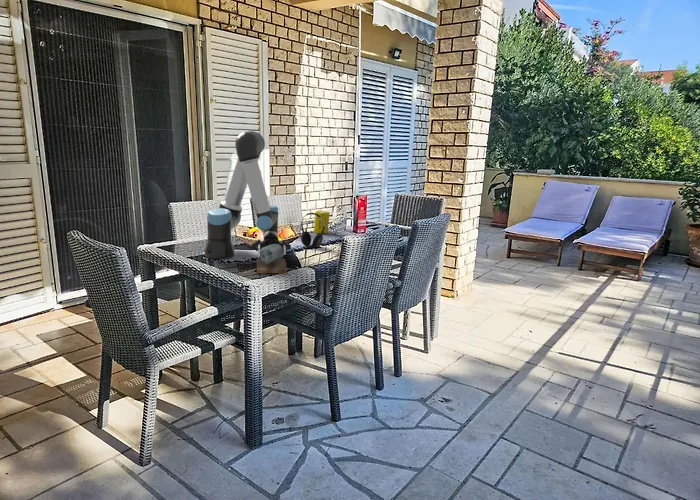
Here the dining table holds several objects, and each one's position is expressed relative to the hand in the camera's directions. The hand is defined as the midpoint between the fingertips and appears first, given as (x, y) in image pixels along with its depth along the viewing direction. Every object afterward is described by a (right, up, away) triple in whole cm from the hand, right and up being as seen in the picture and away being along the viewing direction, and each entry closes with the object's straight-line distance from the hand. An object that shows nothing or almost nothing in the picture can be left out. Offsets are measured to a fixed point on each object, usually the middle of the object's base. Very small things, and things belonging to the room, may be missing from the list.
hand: (272, 251), depth 221 cm
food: (+18, +12, +84) cm, 86 cm away
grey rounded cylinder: (-1, -5, +5) cm, 7 cm away
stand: (-1, -8, +6) cm, 10 cm away
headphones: (+15, +2, +49) cm, 51 cm away
